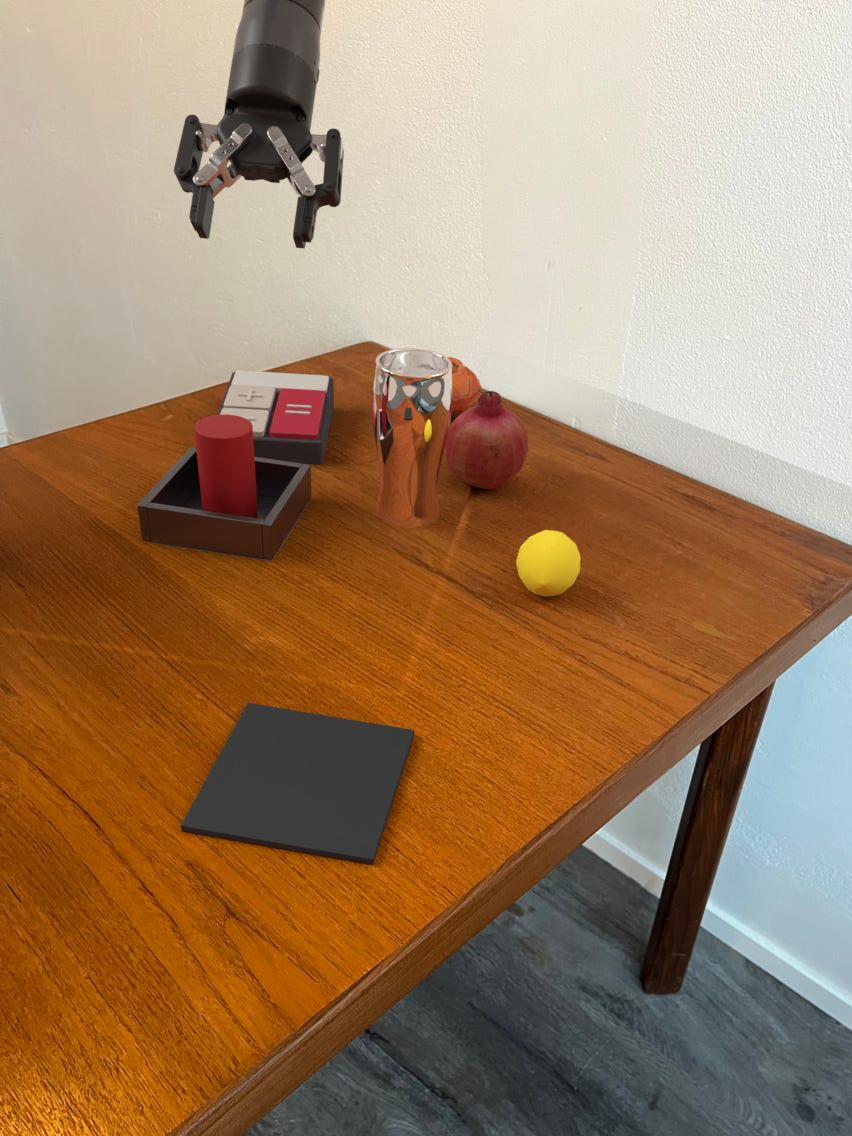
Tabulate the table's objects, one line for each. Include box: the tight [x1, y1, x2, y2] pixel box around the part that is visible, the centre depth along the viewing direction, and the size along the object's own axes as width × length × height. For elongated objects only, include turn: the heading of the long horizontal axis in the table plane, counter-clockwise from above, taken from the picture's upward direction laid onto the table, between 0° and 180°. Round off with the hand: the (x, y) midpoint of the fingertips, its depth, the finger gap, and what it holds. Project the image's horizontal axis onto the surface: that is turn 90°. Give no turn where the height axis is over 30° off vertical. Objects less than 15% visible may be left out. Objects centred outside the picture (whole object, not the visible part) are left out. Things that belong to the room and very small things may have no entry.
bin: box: [136, 447, 312, 562], centre depth 90 cm, size 12×12×4 cm
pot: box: [447, 356, 482, 414], centre depth 113 cm, size 8×8×7 cm
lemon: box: [515, 529, 581, 598], centre depth 85 cm, size 7×5×5 cm
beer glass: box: [371, 347, 453, 529], centre depth 90 cm, size 7×7×15 cm
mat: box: [180, 702, 415, 865], centre depth 66 cm, size 12×12×1 cm
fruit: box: [445, 390, 529, 490], centre depth 98 cm, size 8×8×10 cm
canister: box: [194, 414, 258, 519], centre depth 88 cm, size 5×5×9 cm
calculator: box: [216, 369, 335, 466], centre depth 105 cm, size 11×4×15 cm
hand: (250, 238), depth 88 cm, fingers open, 8 cm apart
